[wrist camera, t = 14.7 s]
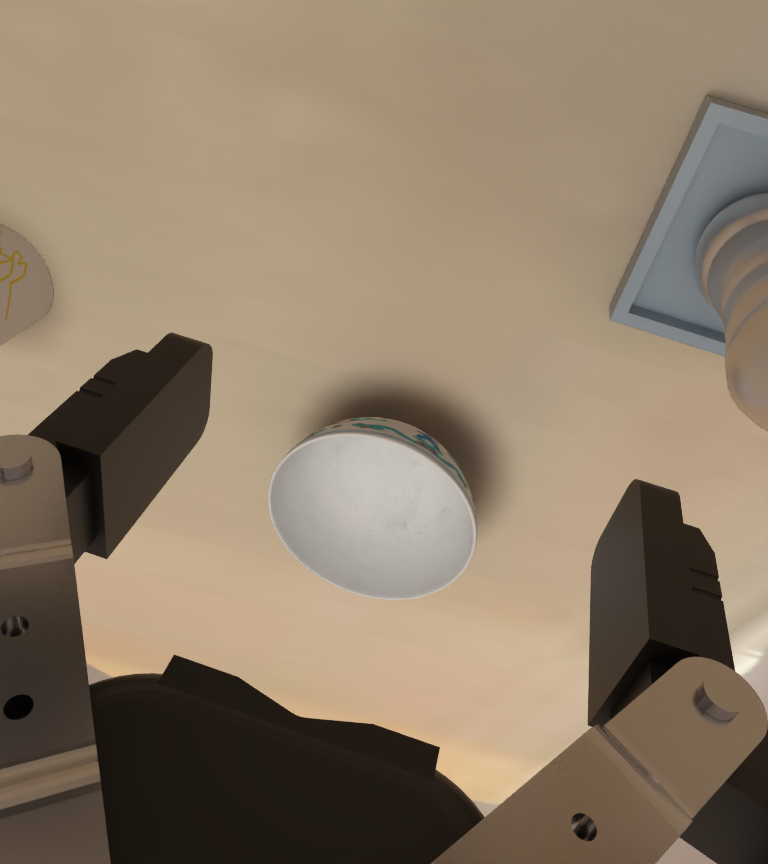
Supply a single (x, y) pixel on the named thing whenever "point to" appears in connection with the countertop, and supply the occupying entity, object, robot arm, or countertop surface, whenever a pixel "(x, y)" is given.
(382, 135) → the countertop surface
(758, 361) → the plastic bottle
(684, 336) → the tray
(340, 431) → the chinaware
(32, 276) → the cup
